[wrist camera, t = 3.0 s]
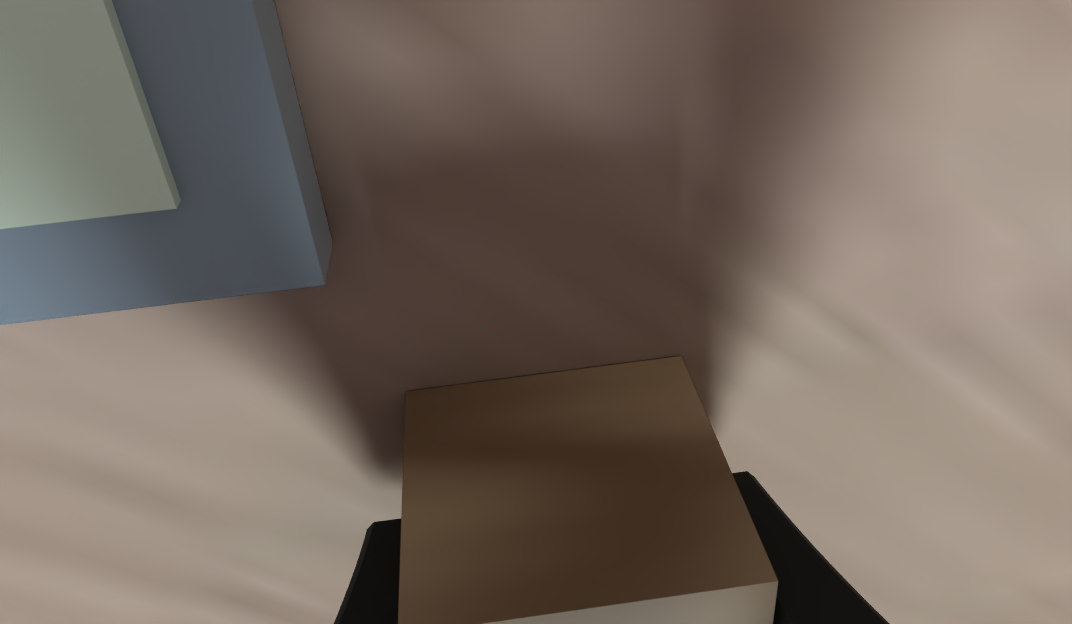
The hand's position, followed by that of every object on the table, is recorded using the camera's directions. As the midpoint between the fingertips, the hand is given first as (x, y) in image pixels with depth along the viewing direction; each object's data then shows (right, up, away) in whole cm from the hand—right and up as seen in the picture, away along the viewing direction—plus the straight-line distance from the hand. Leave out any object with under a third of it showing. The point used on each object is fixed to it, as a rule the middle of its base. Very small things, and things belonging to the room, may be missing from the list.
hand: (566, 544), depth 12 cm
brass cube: (0, +1, +1) cm, 1 cm away
